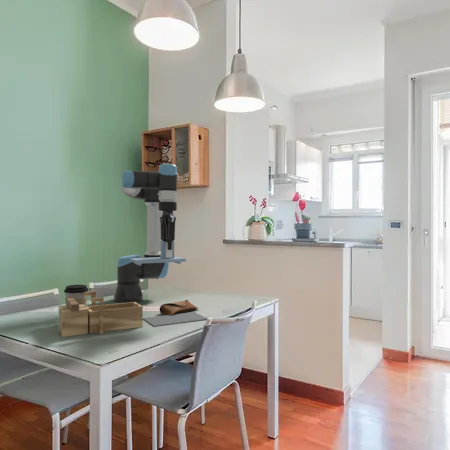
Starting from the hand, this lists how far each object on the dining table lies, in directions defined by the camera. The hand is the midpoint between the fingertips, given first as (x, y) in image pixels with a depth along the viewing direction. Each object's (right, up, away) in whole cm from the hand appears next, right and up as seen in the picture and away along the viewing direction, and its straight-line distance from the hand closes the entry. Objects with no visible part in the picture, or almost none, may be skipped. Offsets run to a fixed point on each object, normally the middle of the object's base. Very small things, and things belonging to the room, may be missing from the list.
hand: (167, 257), depth 166 cm
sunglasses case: (+3, -26, +16) cm, 31 cm away
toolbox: (-24, -26, -13) cm, 38 cm away
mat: (+3, -27, +2) cm, 27 cm away
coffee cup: (-36, -27, -5) cm, 45 cm away
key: (-33, -17, -18) cm, 41 cm away
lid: (-4, -2, -2) cm, 4 cm away
